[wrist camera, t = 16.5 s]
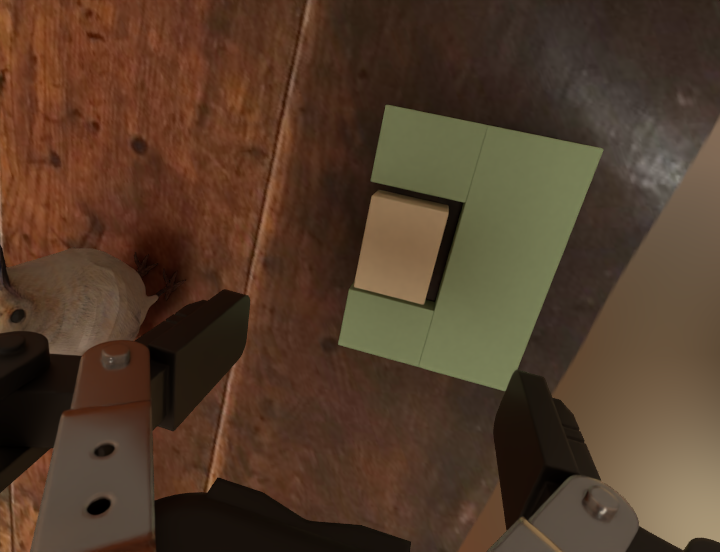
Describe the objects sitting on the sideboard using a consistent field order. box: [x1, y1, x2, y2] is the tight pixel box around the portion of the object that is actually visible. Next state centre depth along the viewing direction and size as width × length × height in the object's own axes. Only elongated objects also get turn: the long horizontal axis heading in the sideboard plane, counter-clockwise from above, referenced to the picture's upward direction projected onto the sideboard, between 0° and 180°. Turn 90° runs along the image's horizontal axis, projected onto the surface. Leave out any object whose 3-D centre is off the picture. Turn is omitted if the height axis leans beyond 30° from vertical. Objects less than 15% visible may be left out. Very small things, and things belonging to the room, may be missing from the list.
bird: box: [0, 245, 186, 356], centre depth 25 cm, size 5×14×15 cm, turn 152°
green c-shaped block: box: [338, 105, 603, 391], centre depth 26 cm, size 16×12×2 cm
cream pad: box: [354, 190, 449, 305], centre depth 26 cm, size 6×5×3 cm
